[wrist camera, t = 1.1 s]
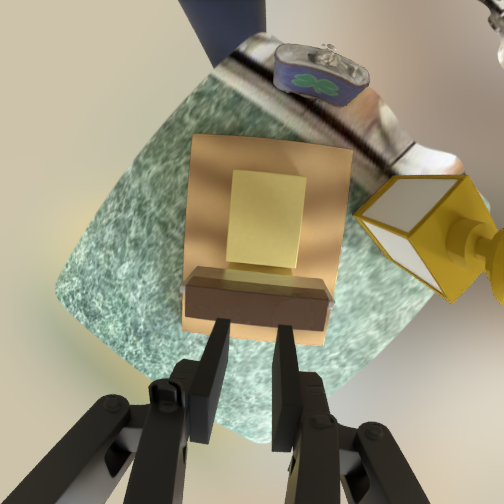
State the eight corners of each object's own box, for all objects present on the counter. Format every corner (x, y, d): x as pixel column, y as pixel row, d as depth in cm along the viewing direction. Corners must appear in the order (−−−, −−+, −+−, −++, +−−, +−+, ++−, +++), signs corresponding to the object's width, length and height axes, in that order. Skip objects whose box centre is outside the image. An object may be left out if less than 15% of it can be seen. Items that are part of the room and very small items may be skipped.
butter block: (237, 171, 33) (233, 169, 28) (301, 177, 32) (306, 176, 28) (230, 251, 35) (225, 261, 30) (292, 257, 34) (295, 268, 30)
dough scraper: (197, 255, 29) (171, 282, 21) (324, 269, 28) (344, 301, 20) (196, 280, 29) (171, 315, 21) (320, 293, 29) (337, 333, 21)
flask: (271, 88, 32) (271, 51, 21) (277, 68, 31) (280, 26, 21) (346, 111, 32) (376, 84, 21) (351, 90, 31) (381, 58, 21)
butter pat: (230, 261, 35) (224, 272, 30) (291, 268, 35) (294, 280, 30) (228, 286, 35) (222, 300, 31) (287, 292, 35) (290, 307, 31)
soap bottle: (450, 193, 33) (594, 216, 10) (386, 258, 35) (509, 350, 12) (420, 148, 32) (566, 129, 9) (352, 214, 34) (475, 268, 11)
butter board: (195, 135, 33) (192, 133, 32) (349, 151, 33) (353, 149, 31) (184, 325, 39) (181, 330, 37) (321, 340, 38) (323, 346, 37)
